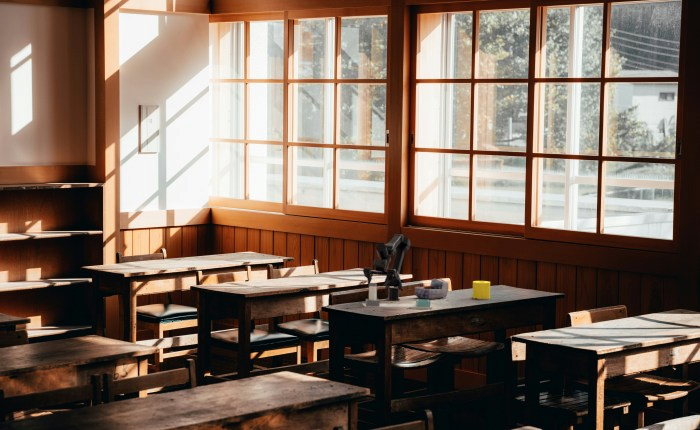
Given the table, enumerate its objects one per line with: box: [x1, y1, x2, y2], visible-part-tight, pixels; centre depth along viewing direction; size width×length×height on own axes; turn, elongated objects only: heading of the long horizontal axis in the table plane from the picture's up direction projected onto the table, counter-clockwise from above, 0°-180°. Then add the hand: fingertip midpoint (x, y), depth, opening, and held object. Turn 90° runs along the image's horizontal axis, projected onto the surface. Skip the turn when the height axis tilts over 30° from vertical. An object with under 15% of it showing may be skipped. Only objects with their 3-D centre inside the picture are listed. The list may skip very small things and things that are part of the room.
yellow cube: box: [472, 280, 491, 300], centre depth 620 cm, size 10×10×9 cm
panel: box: [362, 298, 433, 310], centre depth 576 cm, size 12×37×4 cm, turn 94°
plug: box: [368, 282, 378, 300], centre depth 574 cm, size 3×3×12 cm
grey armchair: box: [414, 278, 449, 300], centre depth 616 cm, size 13×11×20 cm
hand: (376, 285), depth 578 cm, fingers open, 9 cm apart
